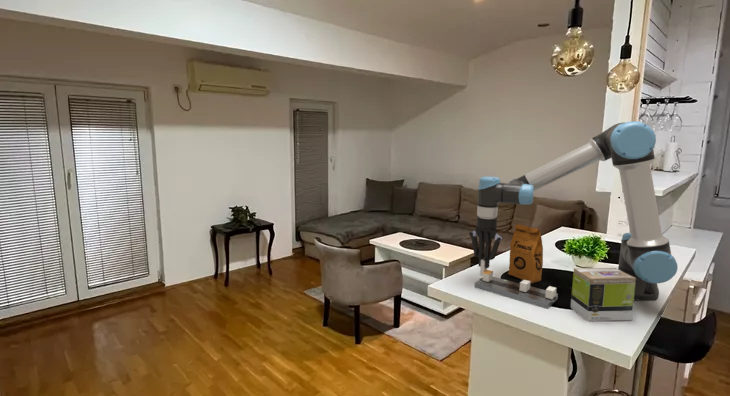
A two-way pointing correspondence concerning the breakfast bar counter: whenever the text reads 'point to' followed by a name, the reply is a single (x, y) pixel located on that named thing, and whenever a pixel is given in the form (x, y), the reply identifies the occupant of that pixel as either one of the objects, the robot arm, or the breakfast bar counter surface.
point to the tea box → (602, 294)
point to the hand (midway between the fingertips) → (483, 275)
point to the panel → (516, 291)
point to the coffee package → (526, 254)
